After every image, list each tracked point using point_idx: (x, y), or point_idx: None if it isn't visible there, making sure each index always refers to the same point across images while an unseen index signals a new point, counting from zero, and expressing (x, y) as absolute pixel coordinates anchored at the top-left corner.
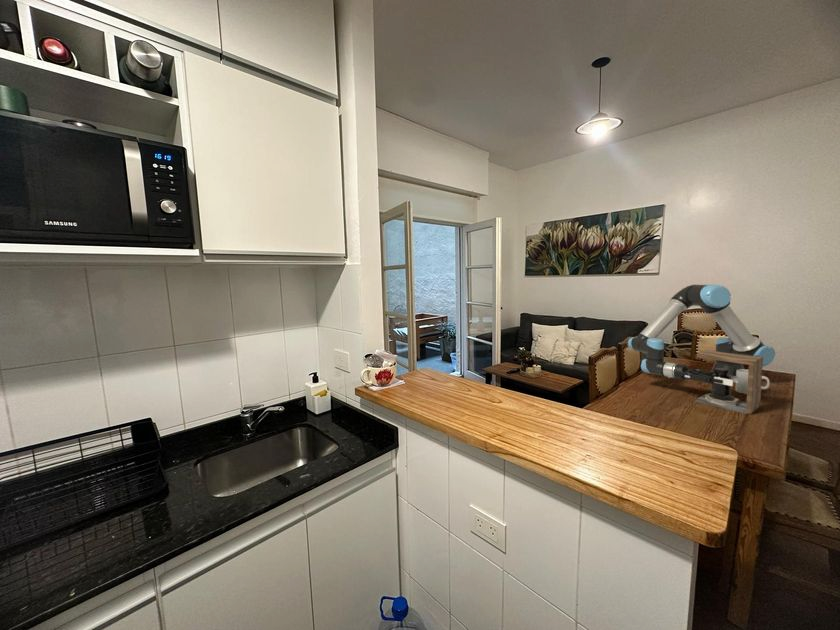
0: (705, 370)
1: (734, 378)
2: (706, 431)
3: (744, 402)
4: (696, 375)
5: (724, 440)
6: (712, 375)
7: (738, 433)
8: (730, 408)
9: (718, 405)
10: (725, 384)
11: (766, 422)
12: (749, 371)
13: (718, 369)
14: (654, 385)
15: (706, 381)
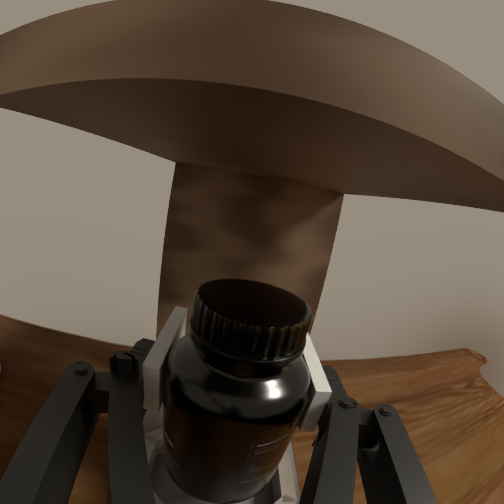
0: (16, 454)
1: (181, 331)
2: (494, 411)
3: (154, 414)
4: (423, 490)
5: (485, 387)
6: (283, 408)
7: (442, 390)
8: (290, 448)
9: (297, 483)
10: None
11: None
12: (335, 230)
13: (293, 310)
14: None
15: (375, 449)
